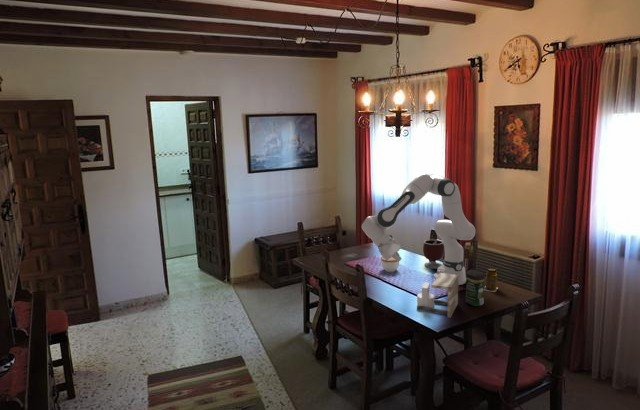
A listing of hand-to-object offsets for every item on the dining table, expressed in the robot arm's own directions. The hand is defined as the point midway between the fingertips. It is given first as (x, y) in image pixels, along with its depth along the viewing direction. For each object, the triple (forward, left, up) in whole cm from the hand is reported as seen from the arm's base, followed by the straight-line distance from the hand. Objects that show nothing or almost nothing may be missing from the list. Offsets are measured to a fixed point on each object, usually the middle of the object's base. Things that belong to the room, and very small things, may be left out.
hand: (400, 260), depth 243 cm
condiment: (-2, +59, -25) cm, 64 cm away
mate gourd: (-52, +48, -25) cm, 74 cm away
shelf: (+13, +15, -24) cm, 32 cm away
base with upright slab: (+9, +11, -25) cm, 28 cm away
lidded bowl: (-53, +16, -25) cm, 60 cm away
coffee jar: (+14, +38, -25) cm, 47 cm away
